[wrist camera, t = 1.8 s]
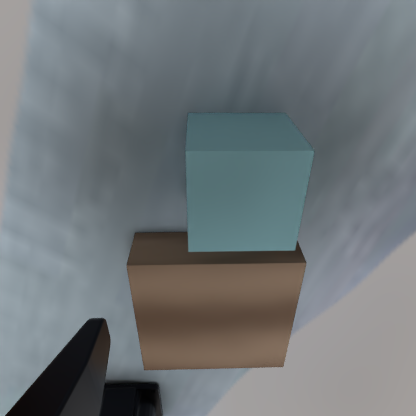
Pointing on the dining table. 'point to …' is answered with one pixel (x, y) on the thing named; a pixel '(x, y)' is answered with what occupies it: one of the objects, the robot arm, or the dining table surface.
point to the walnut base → (212, 303)
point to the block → (245, 181)
